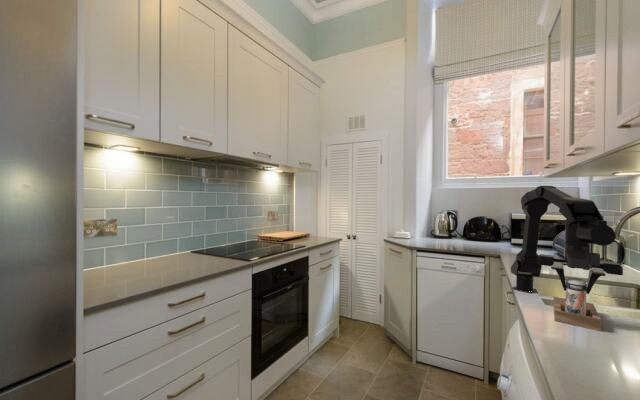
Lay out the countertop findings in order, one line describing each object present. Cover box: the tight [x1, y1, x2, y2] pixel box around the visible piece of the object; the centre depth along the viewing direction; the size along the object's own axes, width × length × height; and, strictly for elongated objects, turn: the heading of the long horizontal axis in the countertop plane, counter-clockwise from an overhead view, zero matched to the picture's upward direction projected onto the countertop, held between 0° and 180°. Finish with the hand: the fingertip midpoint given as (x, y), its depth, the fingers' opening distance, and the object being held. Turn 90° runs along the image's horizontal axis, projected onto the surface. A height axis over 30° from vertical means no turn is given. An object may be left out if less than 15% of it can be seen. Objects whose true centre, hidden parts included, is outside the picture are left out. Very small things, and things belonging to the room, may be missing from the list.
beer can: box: [565, 277, 588, 316], centre depth 86 cm, size 5×5×12 cm
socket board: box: [553, 296, 602, 332], centre depth 89 cm, size 18×10×3 cm, turn 141°
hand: (576, 292), depth 86 cm, fingers closed on beer can, 5 cm apart
